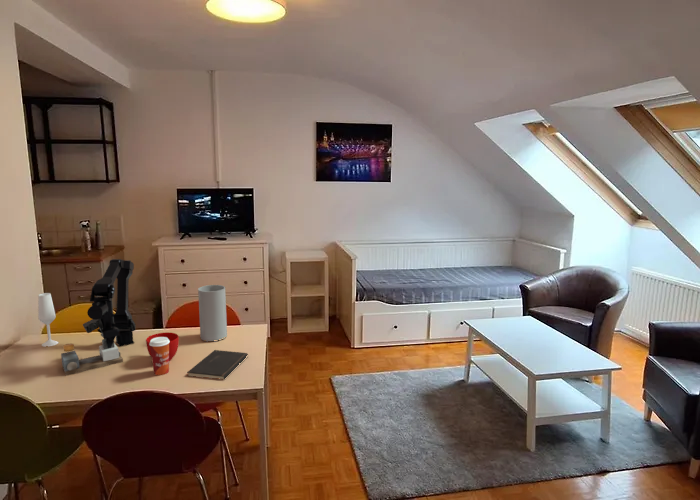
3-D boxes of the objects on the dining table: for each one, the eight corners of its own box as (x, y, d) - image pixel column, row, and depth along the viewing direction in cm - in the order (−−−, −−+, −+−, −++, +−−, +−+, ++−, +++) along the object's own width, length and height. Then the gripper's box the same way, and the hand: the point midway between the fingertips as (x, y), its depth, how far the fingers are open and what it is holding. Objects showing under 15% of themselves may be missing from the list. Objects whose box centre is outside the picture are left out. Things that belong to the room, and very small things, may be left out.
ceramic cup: (163, 349, 209) (162, 328, 207) (185, 358, 199) (184, 336, 197) (136, 358, 198) (134, 336, 196) (158, 368, 189) (157, 345, 187)
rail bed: (117, 354, 202) (116, 341, 201) (123, 361, 194) (121, 348, 193) (62, 366, 189) (60, 353, 188) (65, 375, 181) (64, 361, 180)
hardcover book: (187, 377, 182) (187, 372, 182) (214, 354, 205) (214, 349, 204) (224, 381, 179) (224, 375, 179) (248, 357, 202) (248, 353, 201)
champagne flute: (61, 341, 216) (56, 292, 212) (53, 346, 210) (47, 296, 205) (47, 341, 216) (41, 292, 212) (38, 346, 210) (32, 296, 205)
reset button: (73, 347, 188) (73, 342, 187) (74, 350, 185) (74, 345, 185) (63, 349, 186) (62, 344, 185) (64, 352, 183) (64, 347, 182)
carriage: (114, 351, 200) (113, 335, 199) (119, 357, 194) (117, 340, 193) (99, 355, 197) (98, 338, 195) (103, 361, 190) (102, 344, 189)
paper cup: (159, 378, 180) (156, 344, 178) (147, 373, 184) (144, 340, 182) (175, 370, 187) (173, 338, 184) (164, 366, 191) (161, 334, 188)
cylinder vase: (222, 342, 217) (220, 291, 213) (196, 342, 217) (194, 291, 213) (230, 333, 230) (228, 285, 225) (205, 332, 230) (203, 284, 225)
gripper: (79, 309, 194) (83, 344, 197) (87, 321, 180) (91, 358, 182) (108, 305, 201) (111, 338, 204) (118, 316, 187) (121, 351, 189)
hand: (108, 346), depth 195 cm, fingers closed on carriage, 3 cm apart
